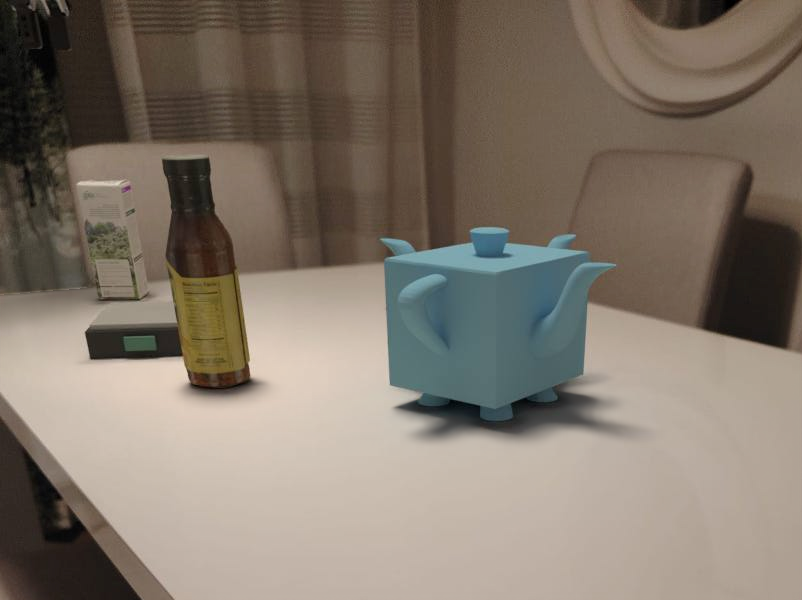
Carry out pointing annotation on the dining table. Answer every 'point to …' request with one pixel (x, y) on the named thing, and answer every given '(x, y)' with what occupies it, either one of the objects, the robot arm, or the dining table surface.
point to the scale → (135, 331)
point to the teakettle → (487, 319)
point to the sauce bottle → (204, 278)
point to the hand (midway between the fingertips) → (49, 49)
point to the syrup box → (113, 238)
